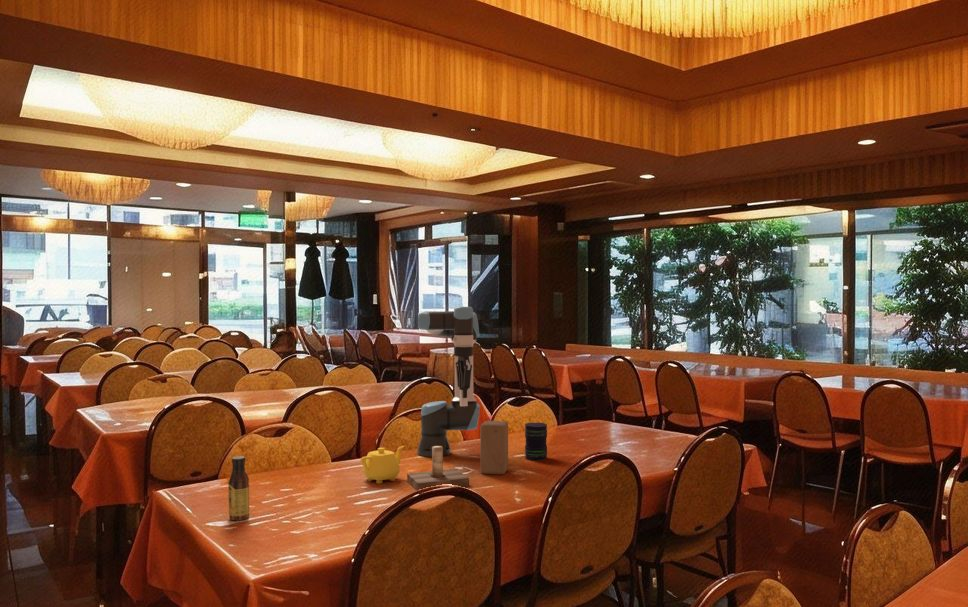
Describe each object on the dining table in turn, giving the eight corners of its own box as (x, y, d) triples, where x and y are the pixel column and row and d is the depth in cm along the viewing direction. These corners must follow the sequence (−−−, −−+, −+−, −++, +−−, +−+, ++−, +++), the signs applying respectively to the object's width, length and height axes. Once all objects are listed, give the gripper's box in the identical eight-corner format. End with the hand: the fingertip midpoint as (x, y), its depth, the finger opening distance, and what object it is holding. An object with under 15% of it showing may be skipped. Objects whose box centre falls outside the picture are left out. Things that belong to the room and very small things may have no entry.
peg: (430, 483, 264) (430, 446, 264) (441, 481, 266) (441, 445, 266) (433, 485, 260) (433, 448, 260) (444, 484, 262) (444, 447, 262)
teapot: (413, 478, 271) (413, 446, 271) (371, 487, 258) (371, 454, 258) (393, 472, 281) (393, 441, 281) (351, 480, 268) (351, 448, 268)
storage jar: (521, 459, 302) (521, 425, 302) (528, 455, 311) (528, 421, 311) (543, 461, 298) (543, 427, 298) (550, 456, 307) (550, 423, 307)
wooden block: (504, 475, 275) (504, 425, 275) (479, 474, 277) (479, 424, 277) (508, 469, 285) (508, 420, 285) (484, 468, 287) (484, 420, 287)
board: (407, 481, 266) (407, 473, 266) (456, 476, 274) (456, 468, 274) (417, 491, 252) (417, 483, 252) (469, 486, 260) (469, 478, 260)
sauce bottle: (231, 515, 225) (231, 454, 225) (251, 515, 225) (251, 454, 225) (226, 522, 218) (225, 459, 218) (246, 521, 219) (246, 458, 219)
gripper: (449, 345, 276) (449, 404, 276) (460, 347, 263) (460, 409, 264) (466, 344, 278) (467, 403, 278) (478, 346, 266) (478, 407, 266)
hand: (463, 405), depth 271 cm, fingers closed
